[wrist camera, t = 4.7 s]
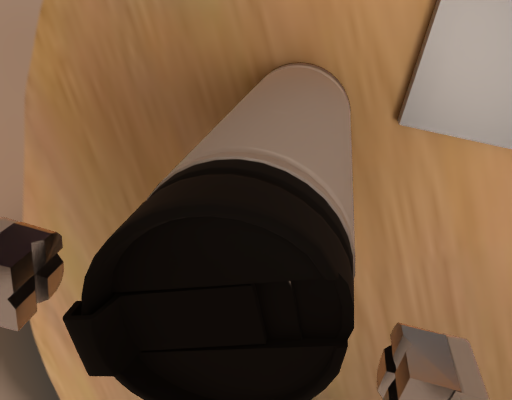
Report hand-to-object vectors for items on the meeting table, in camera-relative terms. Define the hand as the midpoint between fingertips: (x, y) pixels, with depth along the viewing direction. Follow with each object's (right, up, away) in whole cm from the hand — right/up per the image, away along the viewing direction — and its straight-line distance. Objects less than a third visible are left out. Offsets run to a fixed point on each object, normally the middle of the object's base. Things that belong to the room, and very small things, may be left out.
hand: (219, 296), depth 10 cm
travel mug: (+3, +8, +17) cm, 19 cm away
